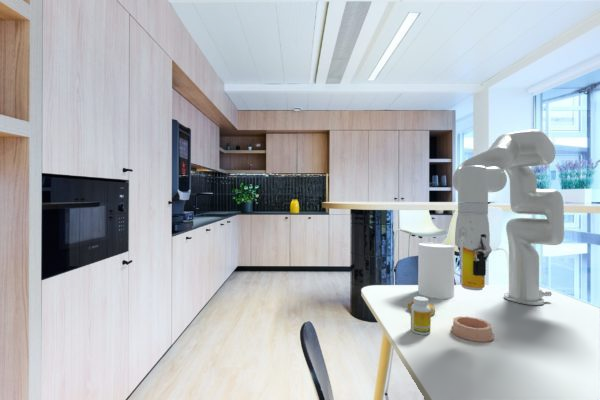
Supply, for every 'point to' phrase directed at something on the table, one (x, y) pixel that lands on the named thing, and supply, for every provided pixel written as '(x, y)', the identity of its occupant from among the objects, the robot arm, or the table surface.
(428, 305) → the bread roll
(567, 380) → the table surface
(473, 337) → the jar base
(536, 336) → the table surface
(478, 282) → the beer can
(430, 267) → the canister
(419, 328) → the supplement bottle
